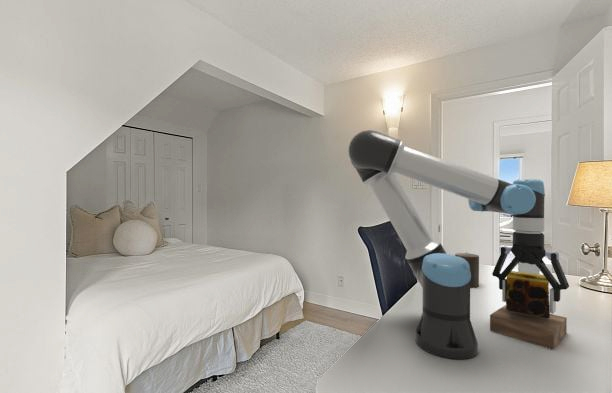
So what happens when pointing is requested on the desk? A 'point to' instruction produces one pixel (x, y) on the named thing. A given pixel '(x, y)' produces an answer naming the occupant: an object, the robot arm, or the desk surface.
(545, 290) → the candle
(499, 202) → the robot arm
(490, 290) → the desk surface
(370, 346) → the desk surface
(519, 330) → the walnut block
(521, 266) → the supplement box
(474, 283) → the pillar candle
